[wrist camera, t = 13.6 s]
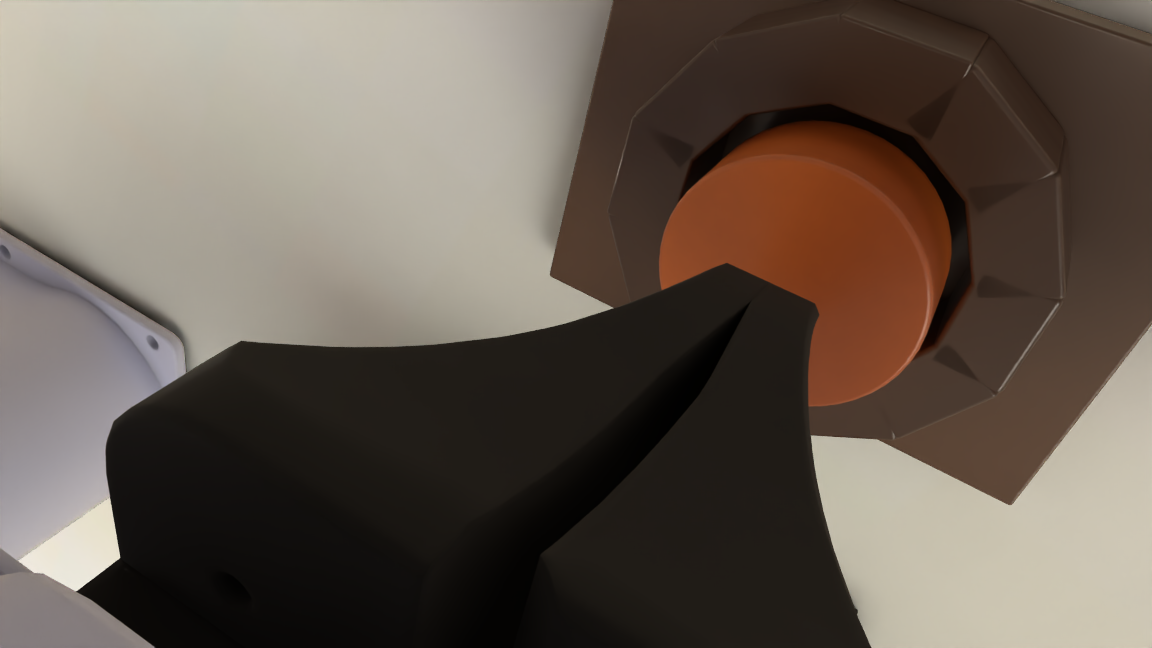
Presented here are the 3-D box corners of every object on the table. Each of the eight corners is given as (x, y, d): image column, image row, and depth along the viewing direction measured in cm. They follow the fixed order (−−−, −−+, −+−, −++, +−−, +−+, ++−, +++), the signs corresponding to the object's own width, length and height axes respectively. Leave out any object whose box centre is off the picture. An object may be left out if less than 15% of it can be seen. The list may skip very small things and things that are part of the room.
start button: (671, 289, 16) (629, 335, 14) (742, 79, 13) (700, 110, 12) (883, 392, 14) (860, 452, 13) (1003, 183, 12) (990, 230, 11)
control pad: (564, 263, 19) (503, 313, 17) (659, -132, 14) (589, -121, 13) (1014, 484, 16) (1000, 573, 15) (1316, 88, 12) (1353, 144, 10)
